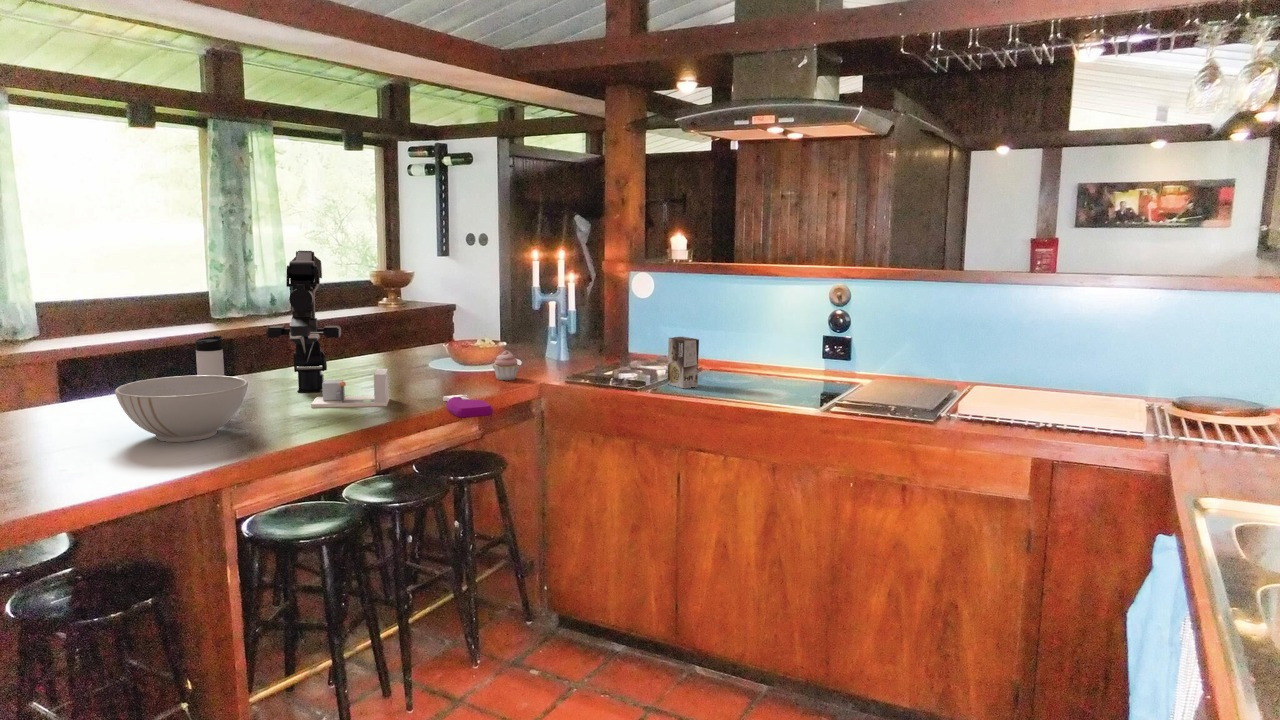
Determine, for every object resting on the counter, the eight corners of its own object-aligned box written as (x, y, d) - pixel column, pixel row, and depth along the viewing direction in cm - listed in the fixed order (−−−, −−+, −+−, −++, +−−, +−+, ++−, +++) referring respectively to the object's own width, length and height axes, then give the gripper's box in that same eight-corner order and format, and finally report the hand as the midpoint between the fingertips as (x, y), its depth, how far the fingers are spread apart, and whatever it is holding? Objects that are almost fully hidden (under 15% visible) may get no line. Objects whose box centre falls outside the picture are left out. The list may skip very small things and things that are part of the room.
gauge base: (311, 407, 219) (309, 375, 217) (316, 400, 228) (315, 369, 227) (386, 405, 224) (386, 374, 222) (389, 398, 233) (388, 368, 232)
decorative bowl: (107, 455, 169) (103, 399, 167) (130, 426, 193) (126, 378, 192) (247, 445, 180) (244, 392, 178) (252, 419, 204) (250, 373, 202)
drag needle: (339, 400, 222) (338, 382, 221) (340, 399, 224) (340, 380, 223) (345, 400, 222) (345, 382, 221) (346, 398, 224) (346, 380, 223)
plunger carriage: (320, 402, 220) (320, 385, 219) (325, 396, 228) (324, 380, 227) (340, 402, 221) (339, 385, 220) (343, 396, 229) (343, 380, 228)
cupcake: (487, 380, 266) (487, 351, 264) (498, 376, 275) (498, 347, 273) (514, 382, 264) (514, 352, 262) (524, 377, 273) (524, 349, 271)
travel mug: (232, 410, 213) (228, 336, 210) (212, 415, 207) (207, 339, 204) (214, 408, 215) (210, 335, 212) (194, 412, 209) (189, 337, 206)
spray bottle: (457, 420, 211) (434, 403, 232) (496, 416, 216) (471, 400, 237) (456, 409, 210) (434, 393, 232) (496, 406, 215) (471, 391, 237)
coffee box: (698, 387, 264) (700, 339, 261) (682, 389, 260) (684, 340, 258) (681, 382, 271) (683, 336, 269) (666, 384, 267) (667, 336, 265)
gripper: (260, 309, 211) (263, 367, 213) (335, 309, 215) (337, 366, 217) (269, 305, 221) (272, 360, 224) (340, 305, 226) (342, 360, 228)
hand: (305, 362), depth 223 cm, fingers closed
